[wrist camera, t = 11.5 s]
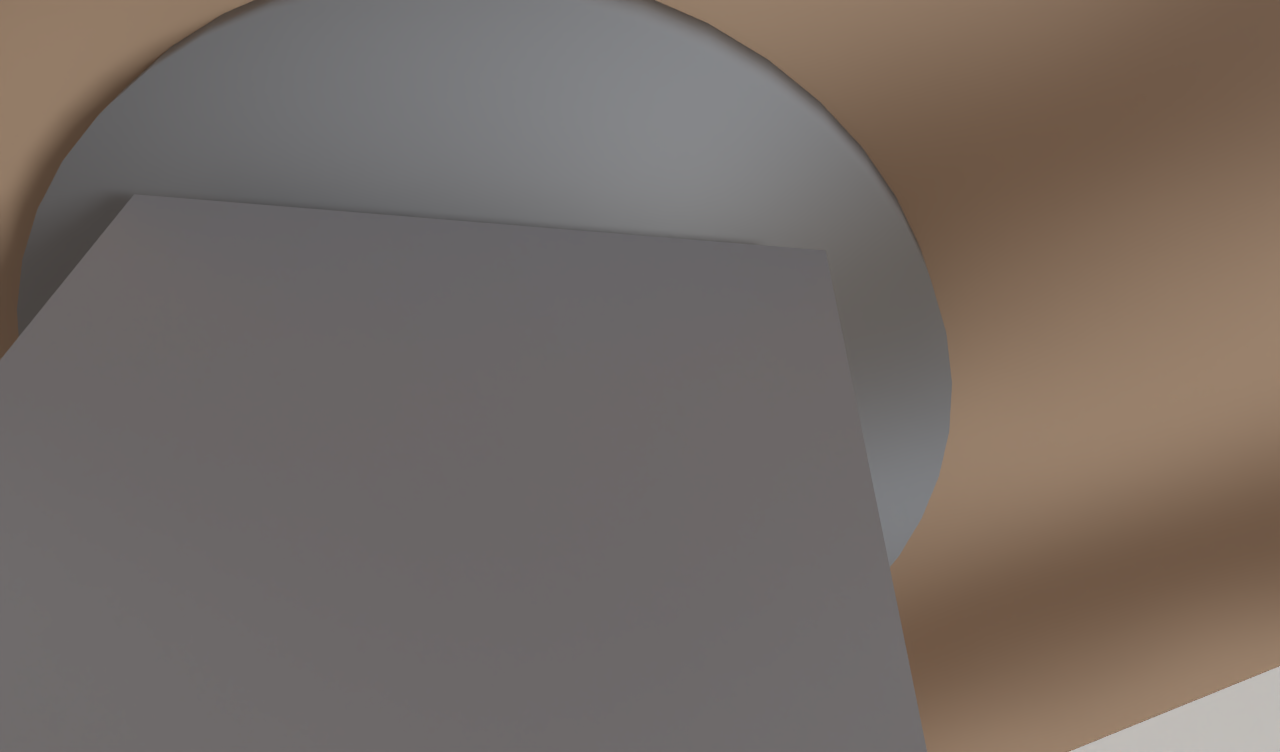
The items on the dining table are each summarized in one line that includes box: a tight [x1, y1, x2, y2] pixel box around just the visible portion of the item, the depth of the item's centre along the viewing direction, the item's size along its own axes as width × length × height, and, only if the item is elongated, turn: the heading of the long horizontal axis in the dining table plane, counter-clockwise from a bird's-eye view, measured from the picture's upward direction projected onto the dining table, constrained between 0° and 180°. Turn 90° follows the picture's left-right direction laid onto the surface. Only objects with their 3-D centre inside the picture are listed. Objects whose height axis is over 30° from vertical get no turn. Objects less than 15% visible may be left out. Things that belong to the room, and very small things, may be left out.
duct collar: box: [0, 194, 927, 752], centre depth 8 cm, size 6×6×6 cm
